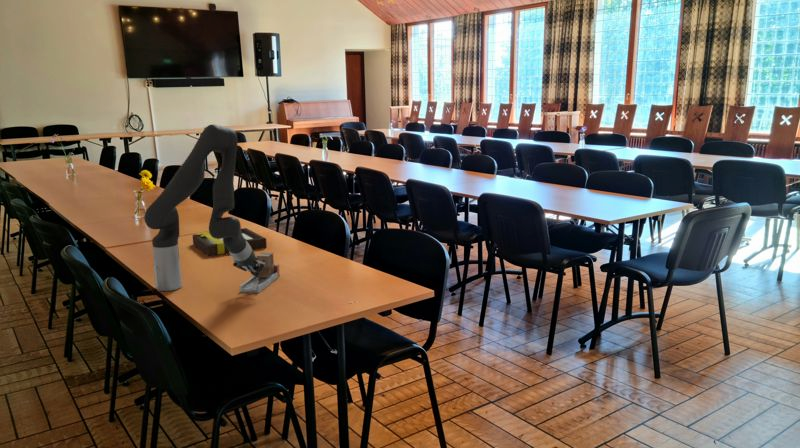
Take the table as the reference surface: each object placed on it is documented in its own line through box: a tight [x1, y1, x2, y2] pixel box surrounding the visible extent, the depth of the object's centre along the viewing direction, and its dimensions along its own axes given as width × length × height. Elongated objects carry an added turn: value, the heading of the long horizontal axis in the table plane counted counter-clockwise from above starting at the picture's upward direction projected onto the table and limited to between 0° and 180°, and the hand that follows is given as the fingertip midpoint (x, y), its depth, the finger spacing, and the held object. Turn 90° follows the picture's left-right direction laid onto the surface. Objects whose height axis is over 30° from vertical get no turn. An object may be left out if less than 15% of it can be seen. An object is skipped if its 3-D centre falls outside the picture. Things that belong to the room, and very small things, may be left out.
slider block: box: [256, 251, 275, 278], centre depth 244 cm, size 5×5×9 cm
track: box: [239, 263, 281, 294], centre depth 239 cm, size 22×8×5 cm, turn 170°
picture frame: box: [192, 227, 268, 258], centre depth 300 cm, size 28×7×30 cm
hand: (256, 274), depth 236 cm, fingers closed
